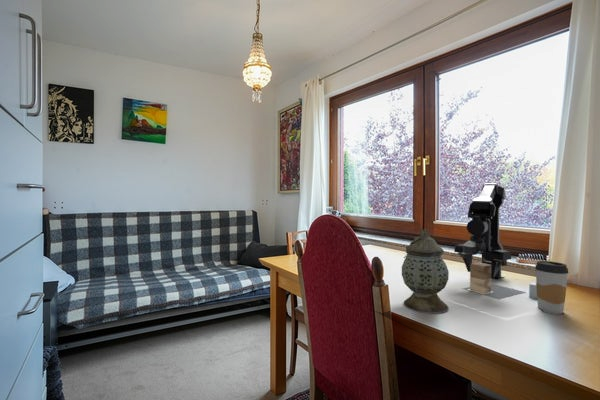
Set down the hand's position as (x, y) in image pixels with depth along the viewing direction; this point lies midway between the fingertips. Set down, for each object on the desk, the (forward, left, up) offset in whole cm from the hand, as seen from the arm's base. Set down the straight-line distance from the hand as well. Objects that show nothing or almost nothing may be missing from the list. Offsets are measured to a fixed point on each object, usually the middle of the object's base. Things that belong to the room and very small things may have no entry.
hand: (480, 274), depth 118 cm
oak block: (0, 0, -6) cm, 6 cm away
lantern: (+32, +1, -7) cm, 33 cm away
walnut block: (0, 0, -1) cm, 1 cm away
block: (-12, +14, -7) cm, 20 cm away
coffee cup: (-1, +22, -7) cm, 23 cm away
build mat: (-5, +2, -7) cm, 9 cm away
